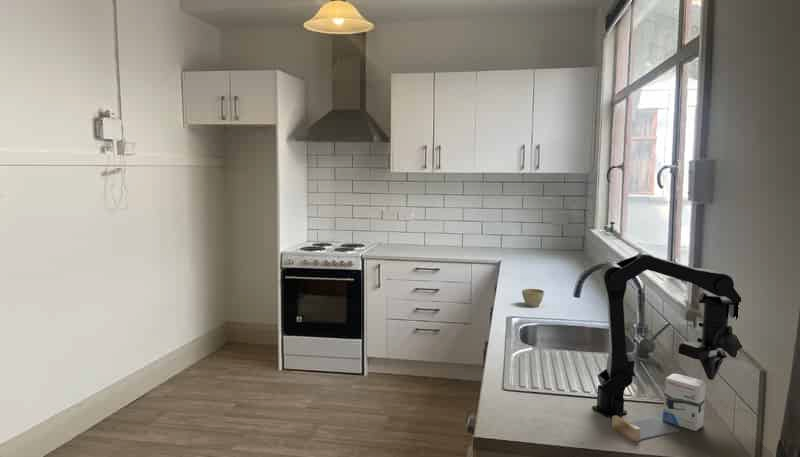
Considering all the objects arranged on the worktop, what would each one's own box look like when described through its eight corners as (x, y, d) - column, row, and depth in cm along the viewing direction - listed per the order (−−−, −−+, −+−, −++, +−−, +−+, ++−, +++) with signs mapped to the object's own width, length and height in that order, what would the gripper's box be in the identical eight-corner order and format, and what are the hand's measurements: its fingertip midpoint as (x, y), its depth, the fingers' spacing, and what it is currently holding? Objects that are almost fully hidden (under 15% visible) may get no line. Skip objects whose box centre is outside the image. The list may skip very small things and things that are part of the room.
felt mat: (615, 426, 150) (615, 425, 150) (653, 418, 155) (654, 417, 155) (639, 440, 143) (640, 439, 143) (679, 431, 148) (679, 430, 148)
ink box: (661, 421, 154) (664, 377, 152) (669, 415, 157) (672, 372, 156) (696, 432, 148) (699, 386, 146) (703, 425, 151) (706, 381, 150)
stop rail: (611, 427, 150) (612, 416, 149) (615, 426, 150) (616, 415, 150) (636, 441, 142) (636, 429, 142) (639, 440, 143) (640, 428, 142)
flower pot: (530, 302, 284) (531, 287, 283) (548, 306, 276) (548, 291, 275) (517, 305, 277) (517, 290, 277) (534, 309, 270) (535, 294, 269)
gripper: (717, 332, 141) (712, 396, 142) (770, 325, 148) (764, 385, 150) (678, 320, 151) (674, 380, 153) (729, 314, 158) (725, 371, 160)
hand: (710, 379), depth 154 cm, fingers closed
